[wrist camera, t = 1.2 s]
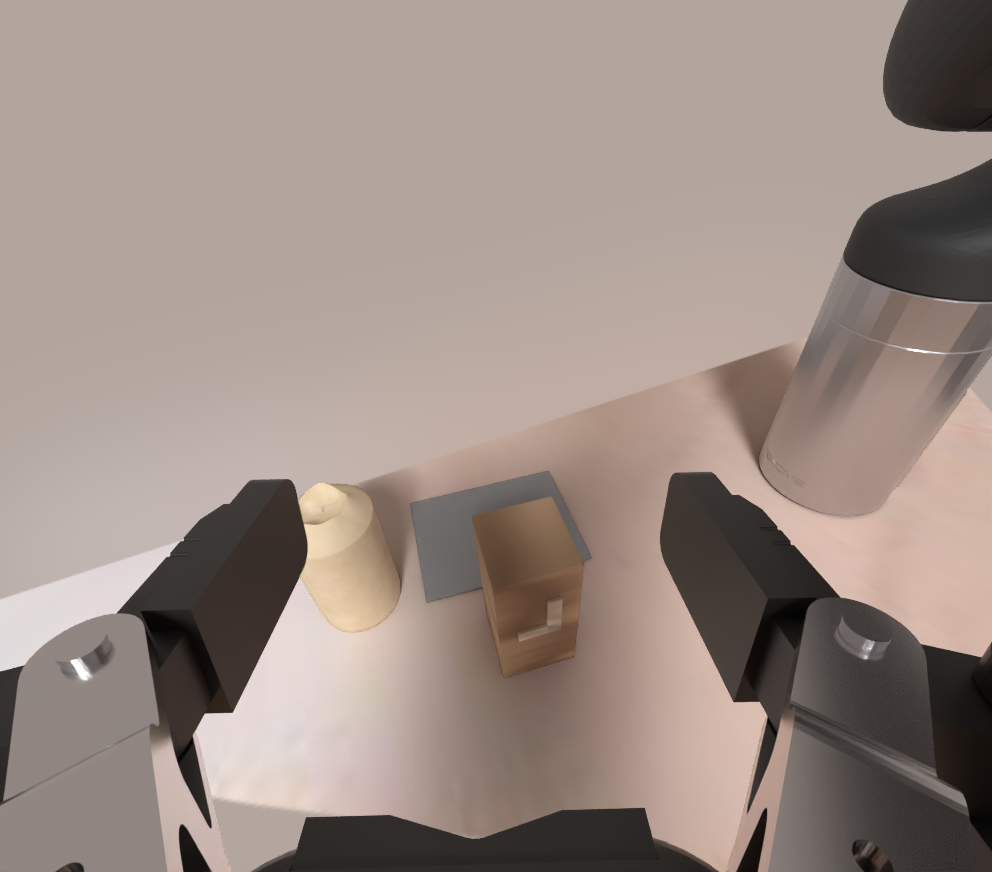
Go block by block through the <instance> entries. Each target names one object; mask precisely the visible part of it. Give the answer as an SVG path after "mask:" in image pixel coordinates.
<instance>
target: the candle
mask: <svg viewBox="0 0 992 872" xmlns="http://www.w3.org/2000/svg"><path fill="white" fill-rule="evenodd" d="M298 502H299V506H300V510H301V514H302V519H303V523H304V527H305V531H306V536H307V542H308V552H307V559H306V564H305V567H304V569H303V571H302V573H301V575H300V578H301V580H302V582H303V583H304V585H305V587H306V588H307V590H308V592H309V593H310V595H311V596H312V598H313V600H314V601H315V603H316V605H317V606H318V608H319V610H320V611H321V613H322V614H323V616H324V617H325V619H326V620H327V621H328V622H329V623H330V624H331V625H332V626H333V627H335V628H337V629H339V630H341V631H345V632H360V631H364V630H367V629H370V628H372V627H374V626H376V625H378V624H379V623H381V622H382V621H383V620H385V619H386V618H387V617H388V616H389V615H390V614H391V612H392V611H393V610H394V608H395V606H396V604H397V602H398V600H399V597H400V588H401V587H400V579H399V576H398V572H397V569H396V567H395V564H394V561H393V558H392V555H391V553H390V550H389V547H388V544H387V541H386V539H385V536H384V533H383V530H382V527H381V525H380V522H379V519H378V516H377V513H376V511H375V508H374V505H373V502H372V500H371V498H370V497H369V495H368V494H367V493H366V492H365V491H363V490H362V489H360V488H358V487H356V486H352V485H347V484H328V483H318V484H316V485H314V486H313V487H311V488H310V489H309V490H308V491H307V492H306V493H304V494H303V495H302V496H300V497H299V498H298Z"/></svg>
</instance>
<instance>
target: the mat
mask: <svg viewBox="0 0 992 872" xmlns="http://www.w3.org/2000/svg"><path fill="white" fill-rule="evenodd" d="M551 496H552V498H553V500H554V502H555V504H556V506H557V508H558V511H559V513H560V515H561V517H562V519H563V521H564V523H565V525H566V528H567V530H568V532H569V534H570V536H571V538H572V540H573V542H574V544H575V547H576V549H577V551H578V553H579V555H580V557H581V559H582V560H586V559H589V558H591V555H590V553H589V551H588V549H587V547H586V545H585V543H584V541H583V539H582V537H581V535H580V533H579V531H578V529H577V527H576V525H575V523H574V521H573V519H572V517H571V515H570V513H569V511H568V509H567V507H566V505H565V503H564V501H563V499H562V496H561V494H560V492H559V490H558V488H557V486H556V484H555V482H554V480H553V478H552V476H551V474H550V472H549V471H545V472H541V473H537V474H533V475H528V476H524V477H520V478H516V479H512V480H507V481H503V482H499V483H495V484H491V485H486V486H482V487H478V488H474V489H470V490H465V491H461V492H457V493H453V494H449V495H444V496H440V497H436V498H432V499H427V500H423V501H419V502H415V503H411V504H410V505H411V511H412V517H413V523H414V529H415V535H416V541H417V547H418V553H419V559H420V565H421V571H422V577H423V583H424V589H425V595H426V601H427V602H431V601H434V600H438V599H442V598H445V597H449V596H453V595H456V594H460V593H464V592H468V591H471V590H475V589H479V588H482V581H481V574H480V568H479V561H478V554H477V548H476V541H475V535H474V528H473V521H472V516H474V515H478V514H482V513H486V512H490V511H494V510H498V509H502V508H506V507H510V506H514V505H518V504H522V503H526V502H530V501H534V500H539V499H543V498H547V497H551Z"/></svg>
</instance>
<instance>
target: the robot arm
mask: <svg viewBox="0 0 992 872" xmlns="http://www.w3.org/2000/svg"><path fill="white" fill-rule="evenodd" d="M883 92H884V97H885V101H886V104H887V107H888V108H889V110H890V111H891V113H892V114H893V116H894V117H895V118H897V119H898V120H900V121H902V122H903V123H905V124H907V125H910V126H914V127H918V128H924V129H930V130H937V131H953V132H958V131H967V132H972V131H973V132H975V131H976V132H986V131H987V132H992V0H908V2H907V4H906V6H905V8H904V10H903V12H902V15H901V17H900V20H899V22H898V24H897V27H896V29H895V32H894V35H893V37H892V40H891V43H890V46H889V50H888V53H887V58H886V62H885V67H884V75H883ZM991 356H992V159H990V160H989V161H987V162H985V163H983V164H981V165H979V166H978V167H975V168H973V169H971V170H969V171H967V172H965V173H962V174H960V175H957V176H955V177H953V178H950V179H947V180H944V181H942V182H939V183H936V184H932V185H929V186H926V187H922V188H919V189H915V190H911V191H908V192H905V193H901V194H897V195H894V196H891V197H888V198H885V199H883V200H881V201H879V202H877V203H875V204H873V205H872V206H870V207H869V208H868V209H867V210H866V211H865V212H864V213H863V214H862V215H861V217H860V218H859V220H858V221H857V223H856V225H855V227H854V229H853V231H852V234H851V236H850V239H849V241H848V243H847V246H846V248H845V250H844V253H843V256H842V258H841V260H840V263H839V265H838V267H837V270H836V273H835V275H834V277H833V279H832V282H831V285H830V287H829V289H828V291H827V294H826V296H825V299H824V301H823V304H822V306H821V309H820V311H819V313H818V316H817V318H816V321H815V323H814V325H813V328H812V330H811V332H810V335H809V337H808V340H807V342H806V344H805V347H804V349H803V351H802V354H801V356H800V359H799V361H798V363H797V366H796V368H795V370H794V373H793V375H792V378H791V380H790V382H789V385H788V387H787V389H786V392H785V394H784V397H783V399H782V401H781V404H780V406H779V409H778V411H777V413H776V416H775V418H774V420H773V423H772V425H771V427H770V430H769V432H768V434H767V437H766V439H765V442H764V444H763V446H762V449H761V451H760V455H759V464H760V469H761V471H762V473H763V475H764V477H765V478H766V479H767V480H768V481H769V483H770V484H771V485H772V486H773V487H774V488H775V489H777V490H778V491H779V492H780V493H781V494H783V495H784V496H786V497H787V498H789V499H790V500H792V501H794V502H796V503H798V504H800V505H802V506H804V507H807V508H809V509H812V510H815V511H818V512H822V513H826V514H831V515H838V516H858V515H864V514H868V513H871V512H874V511H875V510H877V509H878V508H880V507H881V506H882V505H883V504H884V502H885V501H886V500H887V498H888V497H889V496H890V494H891V493H892V492H893V490H894V489H895V487H898V486H899V485H900V483H901V482H902V481H903V479H904V478H905V477H906V475H907V474H908V473H909V471H910V470H911V468H912V467H913V466H914V464H915V463H916V462H917V460H918V459H919V457H920V456H921V455H922V453H923V452H924V451H925V449H926V448H927V447H928V445H929V444H930V442H931V441H932V440H933V438H934V437H935V436H936V434H937V433H938V431H939V430H940V429H941V427H942V426H943V425H944V423H945V422H946V421H947V419H948V418H949V416H950V415H951V414H952V412H953V411H954V410H955V408H956V407H957V405H958V404H959V403H960V401H961V400H962V399H963V397H964V396H965V395H966V392H967V389H968V388H969V386H970V385H971V383H972V382H973V381H974V379H975V378H976V377H977V375H978V374H979V373H980V371H981V370H982V369H983V367H984V366H985V364H986V363H987V362H988V360H989V359H990V358H991ZM660 545H661V552H662V556H663V559H664V562H665V564H666V566H667V568H668V570H669V572H670V574H671V576H672V578H673V580H674V582H675V584H676V586H677V588H678V590H679V592H680V594H681V596H682V598H683V600H684V602H685V604H686V606H687V608H688V611H689V613H690V615H691V617H692V619H693V621H694V623H695V625H696V627H697V629H698V631H699V633H700V635H701V637H702V639H703V641H704V643H705V645H706V647H707V649H708V651H709V653H710V655H711V657H712V659H713V661H714V663H715V665H716V667H717V669H718V671H719V673H720V675H721V677H722V680H723V682H724V684H725V686H726V688H727V690H728V692H729V694H730V696H731V698H732V700H733V702H760V703H761V705H762V707H763V708H764V710H765V712H766V714H767V716H766V719H765V721H764V724H763V727H762V731H761V735H760V739H759V744H758V748H757V752H756V757H755V761H754V765H753V770H752V774H751V778H750V783H749V787H748V791H747V796H746V800H745V804H744V809H743V813H742V817H741V822H740V826H739V830H738V833H737V837H736V840H735V844H734V847H733V850H732V853H731V856H730V859H729V863H728V866H727V869H726V872H992V643H991V644H990V646H989V647H988V649H987V650H986V652H985V653H984V655H983V656H982V657H977V656H973V655H968V654H963V653H959V652H954V651H950V650H945V649H941V648H936V647H931V646H927V645H922V644H920V643H919V641H918V640H917V638H916V637H915V636H914V635H913V634H912V633H911V632H910V631H909V630H908V629H907V628H906V627H905V626H903V625H902V624H901V623H900V622H898V621H897V620H895V619H894V618H892V617H891V616H889V615H888V614H886V613H884V612H882V611H880V610H878V609H876V608H874V607H872V606H869V605H867V604H864V603H861V602H858V601H855V600H850V599H846V598H840V596H839V595H838V594H837V593H836V592H835V591H834V590H833V589H832V587H831V586H830V585H829V584H828V583H827V582H826V581H825V580H824V578H823V577H822V576H821V575H820V574H819V573H818V572H817V571H816V569H815V568H814V567H813V566H812V565H811V564H810V563H809V562H808V560H807V559H806V558H805V557H804V556H803V555H802V554H801V553H800V551H799V550H798V549H797V548H796V547H795V546H794V545H791V544H790V540H789V539H788V538H787V537H786V536H785V535H784V533H783V532H782V531H781V530H778V529H777V526H776V524H775V523H774V522H773V521H772V520H771V519H770V518H769V517H768V515H767V514H766V513H765V512H764V511H763V510H762V509H761V508H759V507H757V506H756V505H754V504H753V503H751V502H749V501H748V500H746V499H745V498H743V497H742V496H740V495H732V494H731V493H730V492H729V491H728V490H727V488H726V487H725V486H724V485H723V484H722V482H721V481H720V480H719V479H718V478H717V476H716V475H715V474H714V473H712V472H687V473H674V474H673V475H672V477H671V479H670V482H669V487H668V493H667V498H666V504H665V509H664V515H663V521H662V526H661V532H660ZM307 552H308V542H307V536H306V531H305V527H304V523H303V519H302V514H301V510H300V506H299V502H298V498H297V493H296V489H295V486H294V484H293V483H292V481H290V480H289V479H274V480H251V481H249V482H248V483H247V484H246V485H245V486H244V488H243V489H242V490H241V491H240V492H239V493H238V495H237V496H236V497H235V498H234V499H233V501H232V502H231V503H230V504H223V505H222V506H220V507H219V508H217V509H216V510H214V511H213V512H211V513H210V514H208V515H206V516H205V517H203V518H202V519H200V520H199V521H198V523H197V524H196V525H195V526H194V527H193V528H192V529H191V530H190V531H189V533H188V534H187V535H186V536H185V537H184V541H181V542H180V543H179V544H178V545H177V546H176V547H175V548H174V549H173V551H172V552H171V553H170V557H166V558H165V560H164V561H163V562H162V563H161V564H160V565H159V566H158V567H157V569H156V570H155V571H154V572H153V573H152V574H151V575H150V576H149V577H148V579H147V580H146V581H145V582H144V583H143V584H142V585H141V586H140V588H139V589H138V590H137V591H136V592H135V593H134V594H133V595H132V597H131V598H130V599H129V600H128V601H127V602H126V603H125V604H124V606H123V607H122V608H121V609H120V610H119V611H118V612H117V613H116V614H109V615H104V616H100V617H96V618H93V619H90V620H87V621H84V622H82V623H80V624H78V625H75V626H73V627H71V628H69V629H68V630H66V631H64V632H62V633H61V634H59V635H57V636H56V637H54V638H53V639H51V640H50V641H49V642H47V643H46V644H45V645H44V646H42V647H41V648H40V649H39V650H38V651H37V652H36V653H35V654H34V655H33V656H32V657H31V658H30V659H29V660H28V662H27V663H26V664H25V665H24V666H20V667H16V668H13V669H9V670H5V671H1V672H0V872H232V870H231V868H230V865H229V863H228V860H227V857H226V854H225V851H224V848H223V844H222V840H221V836H220V833H219V828H218V823H217V819H216V814H215V810H214V806H213V801H212V797H211V792H210V788H209V783H208V779H207V774H206V770H205V766H204V761H203V757H202V752H201V748H200V743H199V740H198V737H197V735H196V733H195V730H196V729H197V727H198V725H199V723H200V721H201V719H202V718H203V716H204V714H205V713H233V711H234V709H235V707H236V705H237V703H238V701H239V699H240V697H241V695H242V693H243V691H244V689H245V687H246V685H247V683H248V681H249V679H250V677H251V675H252V673H253V671H254V669H255V667H256V664H257V662H258V660H259V658H260V656H261V654H262V652H263V650H264V648H265V646H266V644H267V642H268V640H269V638H270V636H271V634H272V632H273V630H274V628H275V626H276V624H277V622H278V620H279V618H280V616H281V614H282V612H283V610H284V608H285V606H286V604H287V602H288V599H289V597H290V595H291V593H292V591H293V589H294V587H295V585H296V583H297V581H298V579H299V577H300V575H301V573H302V571H303V569H304V567H305V564H306V559H307ZM252 872H719V871H718V870H716V869H715V868H713V867H712V866H711V865H709V864H708V863H706V862H705V861H703V860H701V859H699V858H698V857H696V856H694V855H692V854H691V853H689V852H687V851H685V850H683V849H681V848H678V847H676V846H674V845H672V844H669V843H667V842H665V841H662V840H658V839H655V838H652V834H651V831H650V827H649V823H648V819H647V815H646V811H645V808H626V809H590V810H561V811H559V812H556V813H553V814H550V815H547V816H544V817H541V818H539V819H536V820H533V821H530V822H527V823H524V824H521V825H519V826H516V827H513V828H510V829H507V830H504V831H502V832H499V833H496V834H493V835H490V836H487V837H484V838H480V839H470V838H465V837H462V836H459V835H455V834H452V833H448V832H445V831H442V830H438V829H435V828H432V827H428V826H425V825H421V824H418V823H415V822H411V821H408V820H405V819H401V818H398V817H394V816H391V815H377V816H341V817H306V820H305V823H304V826H303V830H302V833H301V837H300V840H299V844H298V847H297V849H295V850H292V851H290V852H287V853H285V854H283V855H281V856H279V857H277V858H274V859H272V860H270V861H268V862H266V863H264V864H263V865H261V866H259V867H258V868H256V869H254V870H253V871H252Z"/></svg>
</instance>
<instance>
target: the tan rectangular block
mask: <svg viewBox="0 0 992 872" xmlns="http://www.w3.org/2000/svg"><path fill="white" fill-rule="evenodd" d="M472 521H473V528H474V535H475V541H476V548H477V554H478V561H479V568H480V574H481V581H482V587H483V594H484V601H485V607H486V613H487V616H488V620H489V624H490V628H491V631H492V635H493V639H494V643H495V646H496V650H497V654H498V658H499V661H500V665H501V669H502V673H503V677H504V678H506V677H509V676H512V675H516V674H519V673H522V672H526V671H529V670H532V669H536V668H539V667H542V666H545V665H549V664H552V663H555V662H559V661H562V660H565V659H569V658H572V657H574V654H575V644H576V635H577V625H578V616H579V606H580V596H581V587H582V577H583V567H584V563H583V561H582V559H581V557H580V555H579V553H578V551H577V549H576V547H575V544H574V542H573V540H572V538H571V536H570V534H569V532H568V530H567V528H566V525H565V523H564V521H563V519H562V517H561V515H560V513H559V511H558V508H557V506H556V504H555V502H554V500H553V498H552V496H551V497H547V498H543V499H539V500H534V501H530V502H526V503H522V504H518V505H514V506H510V507H506V508H502V509H498V510H494V511H490V512H486V513H482V514H478V515H474V516H472Z"/></svg>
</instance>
